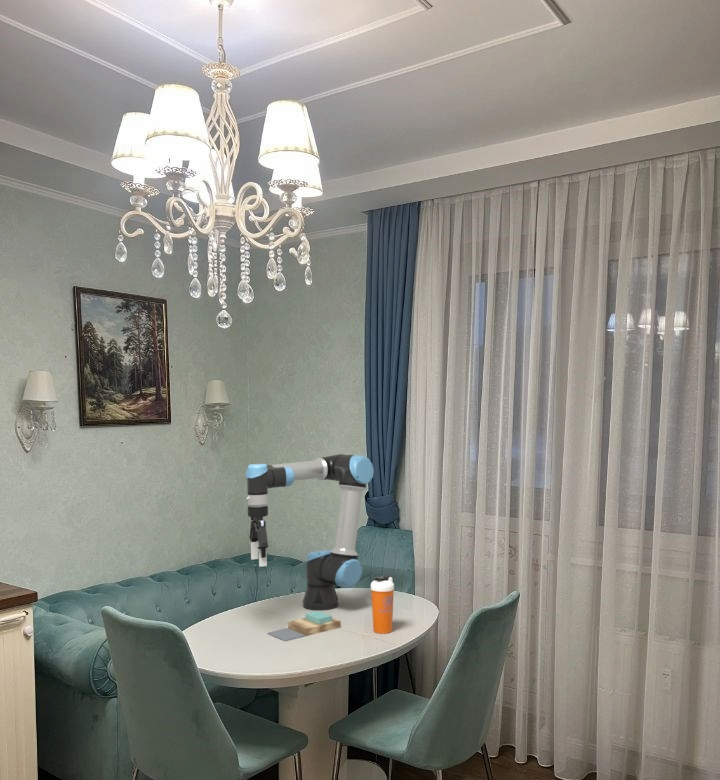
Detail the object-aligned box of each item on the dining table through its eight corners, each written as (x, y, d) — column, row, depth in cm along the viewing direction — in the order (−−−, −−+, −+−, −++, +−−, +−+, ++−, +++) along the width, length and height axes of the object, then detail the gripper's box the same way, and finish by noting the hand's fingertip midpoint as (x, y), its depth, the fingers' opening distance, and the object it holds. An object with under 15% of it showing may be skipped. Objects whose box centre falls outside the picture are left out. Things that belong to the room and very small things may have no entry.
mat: (286, 628, 270) (286, 628, 270) (305, 636, 261) (305, 635, 261) (266, 633, 264) (266, 632, 264) (285, 641, 255) (284, 640, 255)
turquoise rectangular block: (317, 616, 277) (317, 611, 277) (332, 621, 270) (332, 616, 271) (305, 619, 273) (305, 614, 274) (319, 624, 267) (319, 619, 267)
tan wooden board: (321, 620, 280) (321, 614, 280) (340, 627, 271) (340, 620, 271) (288, 628, 270) (288, 621, 270) (306, 635, 261) (306, 629, 261)
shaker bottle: (365, 631, 266) (365, 577, 267) (381, 625, 273) (381, 573, 273) (383, 636, 260) (383, 580, 261) (399, 630, 266) (399, 576, 267)
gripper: (241, 502, 276) (242, 557, 276) (255, 510, 253) (256, 570, 253) (260, 500, 279) (261, 555, 278) (275, 509, 256) (276, 568, 255)
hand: (258, 562), depth 265 cm, fingers open, 13 cm apart
